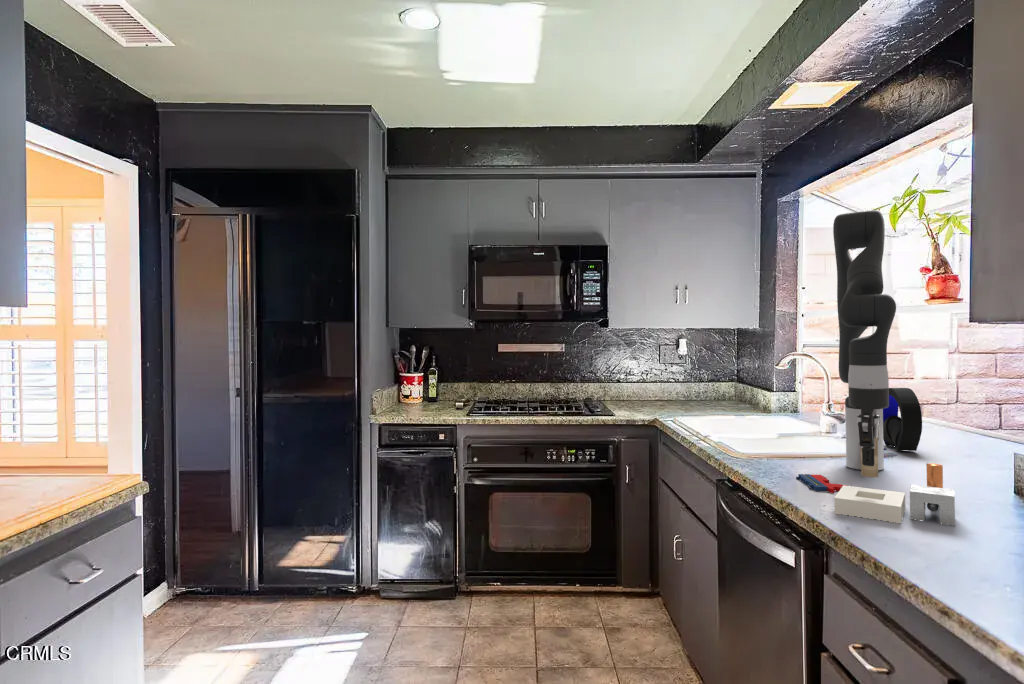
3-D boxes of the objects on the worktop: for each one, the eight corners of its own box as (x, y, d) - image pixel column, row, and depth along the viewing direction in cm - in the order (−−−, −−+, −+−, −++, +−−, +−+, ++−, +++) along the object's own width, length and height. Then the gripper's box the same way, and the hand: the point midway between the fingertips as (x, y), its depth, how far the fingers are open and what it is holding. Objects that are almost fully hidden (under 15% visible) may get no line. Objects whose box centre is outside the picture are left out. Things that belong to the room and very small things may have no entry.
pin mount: (954, 518, 120) (954, 489, 120) (954, 526, 115) (954, 496, 115) (911, 512, 124) (911, 484, 124) (910, 519, 120) (909, 491, 120)
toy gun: (834, 479, 154) (794, 479, 155) (834, 474, 154) (794, 473, 155) (857, 495, 139) (813, 494, 141) (857, 489, 139) (813, 487, 141)
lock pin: (943, 498, 132) (942, 464, 132) (941, 516, 120) (941, 478, 120) (927, 496, 134) (926, 462, 134) (924, 514, 122) (923, 477, 122)
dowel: (862, 473, 128) (861, 428, 128) (879, 474, 126) (878, 429, 126) (860, 476, 125) (859, 430, 125) (877, 478, 123) (876, 431, 123)
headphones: (925, 455, 177) (924, 391, 176) (901, 455, 178) (900, 391, 178) (898, 443, 195) (898, 385, 194) (877, 443, 196) (876, 385, 196)
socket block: (843, 500, 134) (843, 485, 134) (905, 508, 127) (905, 492, 127) (834, 513, 125) (834, 497, 125) (901, 523, 117) (900, 506, 117)
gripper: (885, 389, 117) (886, 472, 118) (891, 383, 129) (892, 459, 129) (843, 387, 122) (844, 468, 122) (853, 382, 133) (854, 456, 133)
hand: (869, 463), depth 126 cm, fingers closed on dowel, 3 cm apart
